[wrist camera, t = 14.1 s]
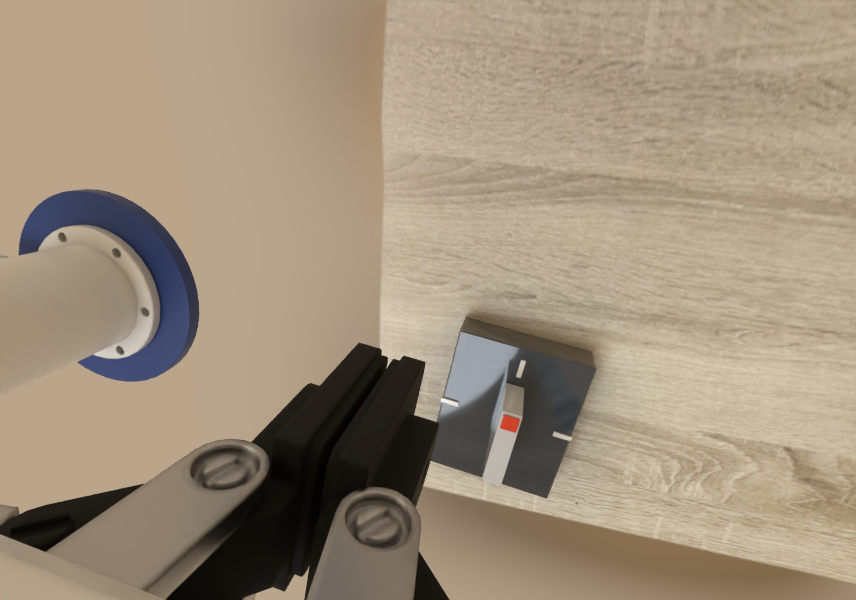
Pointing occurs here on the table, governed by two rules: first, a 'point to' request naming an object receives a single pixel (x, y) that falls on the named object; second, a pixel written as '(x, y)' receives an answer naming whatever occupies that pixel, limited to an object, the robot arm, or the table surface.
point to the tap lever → (503, 434)
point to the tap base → (481, 395)
